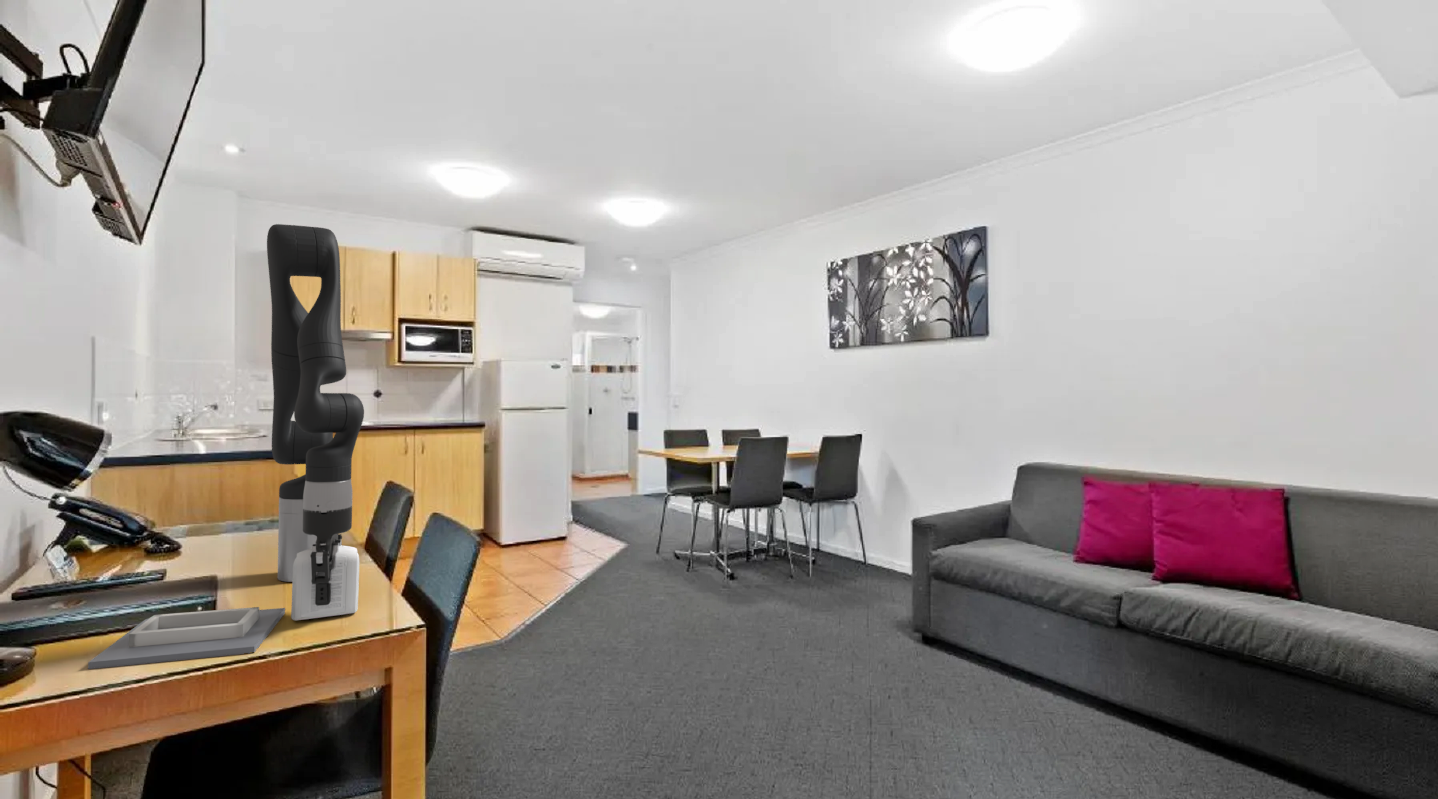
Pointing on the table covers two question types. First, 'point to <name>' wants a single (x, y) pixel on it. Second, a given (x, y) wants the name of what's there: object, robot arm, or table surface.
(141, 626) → the dock
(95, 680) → the table surface
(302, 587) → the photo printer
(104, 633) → the table surface
